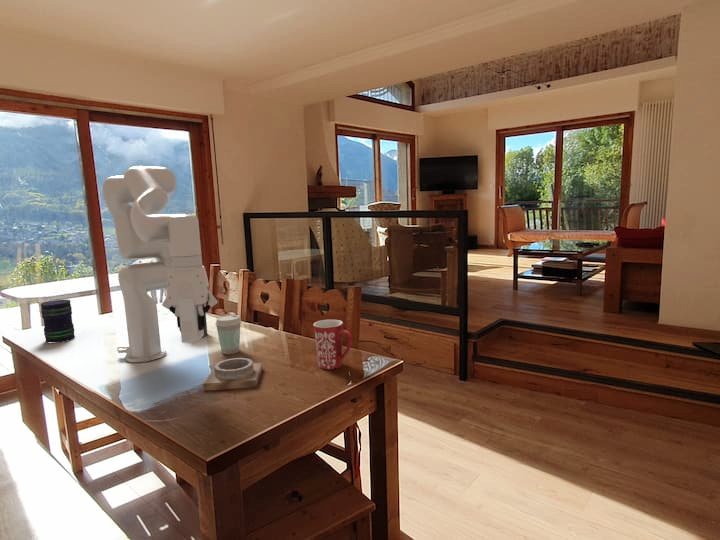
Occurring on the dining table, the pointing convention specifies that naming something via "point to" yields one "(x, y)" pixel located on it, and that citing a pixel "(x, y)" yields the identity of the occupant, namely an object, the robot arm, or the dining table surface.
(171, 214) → the robot arm
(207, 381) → the ring stand
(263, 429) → the dining table surface
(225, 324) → the coffee cup
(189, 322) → the skincare box
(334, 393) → the dining table surface
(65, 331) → the storage jar
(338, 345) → the mug
